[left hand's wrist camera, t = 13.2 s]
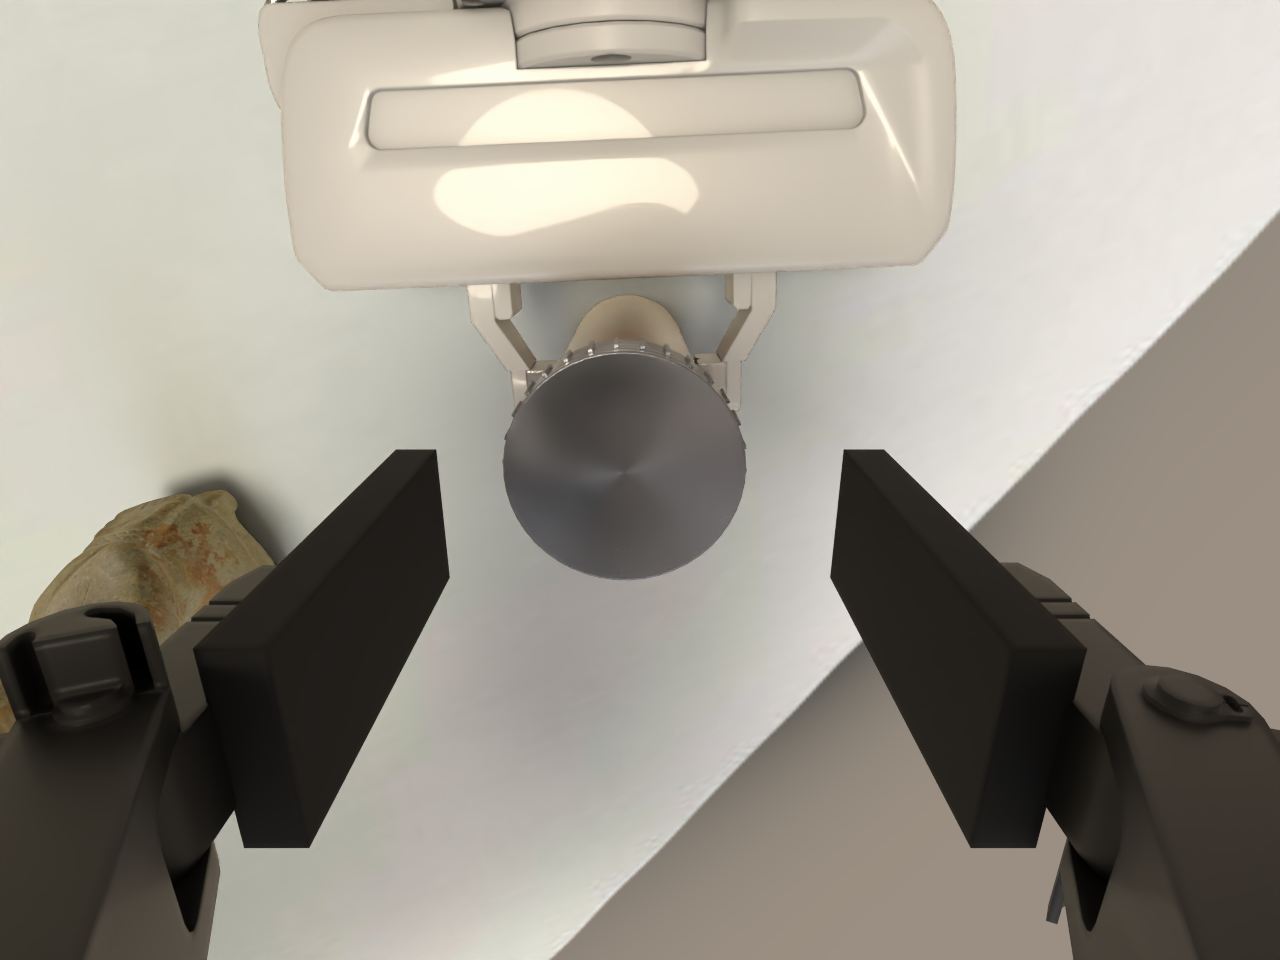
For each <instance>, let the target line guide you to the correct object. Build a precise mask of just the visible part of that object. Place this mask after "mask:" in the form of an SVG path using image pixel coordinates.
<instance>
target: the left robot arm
mask: <svg viewBox="0 0 1280 960" xmlns="http://www.w3.org/2000/svg"><path fill="white" fill-rule="evenodd" d="M449 578H450V576H449V566H448V557H447V547H446V538H445V528H444V519H443V510H442V500H441V491H440V481H439V472H438V462H437V453H436V450H395V451H394V452H393V453H392V454H391V455H390V456H389V457H388V458H387V459H386V460H385V461H384V462H383V463H382V464H381V465H380V466H379V467H378V468H377V469H376V470H375V471H374V472H373V473H372V474H371V475H370V476H369V477H368V478H367V479H366V480H364V481H363V482H362V483H361V484H360V485H359V486H358V487H357V488H356V489H355V490H354V491H353V492H352V493H351V494H350V495H349V496H348V497H347V498H346V499H345V500H344V501H343V502H342V503H341V504H340V505H339V506H338V507H337V508H336V509H335V510H334V511H333V512H332V513H331V514H330V515H329V516H328V517H327V518H326V519H325V520H324V521H323V522H322V523H321V524H319V525H318V526H317V527H316V528H315V529H314V530H313V531H312V532H311V533H310V534H309V535H308V536H307V537H306V538H305V539H304V540H303V541H302V542H301V543H300V544H299V545H298V546H297V547H296V548H295V549H294V550H293V551H292V552H291V553H290V554H289V555H288V556H287V557H286V558H285V559H284V560H283V561H282V562H281V563H280V564H279V565H262V566H260V567H258V568H256V569H254V570H252V571H250V572H248V573H246V574H245V575H243V576H241V577H239V578H237V579H235V580H233V581H231V582H230V583H229V584H228V585H226V586H225V587H224V588H223V589H222V590H221V591H220V592H219V593H218V594H216V595H215V596H214V597H213V598H212V599H211V600H210V601H209V605H204V606H203V607H202V608H201V609H200V610H199V611H198V612H197V613H195V614H194V615H193V616H192V617H191V622H186V623H184V624H183V625H182V626H181V627H180V628H179V629H178V630H177V631H176V632H174V633H173V634H172V635H171V636H170V637H169V638H168V639H167V640H166V641H165V642H163V643H162V644H161V645H160V646H159V642H158V639H157V635H156V632H155V628H154V624H153V621H152V617H151V614H150V610H148V609H146V608H145V607H143V606H141V605H140V604H137V603H129V602H120V601H115V602H104V603H93V604H88V605H83V606H79V607H75V608H70V609H66V610H62V611H59V612H56V613H53V614H51V615H48V616H45V617H43V618H40V619H37V620H34V621H32V622H30V623H28V624H26V625H24V626H22V627H20V628H19V629H17V630H15V631H13V632H11V633H9V634H8V635H6V636H5V637H4V638H2V639H1V640H0V679H1V682H2V685H3V687H4V690H5V693H6V695H7V698H8V701H9V703H10V706H11V708H12V711H13V714H14V716H15V719H16V721H15V723H14V724H13V726H12V728H11V729H10V731H9V732H7V733H2V734H0V960H207V955H208V949H209V942H210V936H211V929H212V922H213V916H214V909H215V903H216V896H217V890H218V883H219V877H220V867H219V860H218V855H217V851H216V847H215V844H214V839H215V838H216V836H217V835H218V833H219V832H220V830H221V829H222V827H223V826H224V824H225V823H226V821H227V820H228V818H229V817H230V815H231V814H232V812H233V811H234V810H235V814H236V818H237V822H238V826H239V830H240V834H241V837H242V841H243V845H244V848H309V847H310V845H311V844H312V842H313V840H314V838H315V836H316V834H317V832H318V830H319V828H320V826H321V824H322V822H323V820H324V819H325V817H326V815H327V813H328V811H329V809H330V807H331V805H332V803H333V801H334V799H335V797H336V795H337V793H338V792H339V790H340V788H341V786H342V784H343V782H344V780H345V778H346V776H347V774H348V772H349V770H350V768H351V767H352V765H353V763H354V761H355V759H356V757H357V755H358V753H359V751H360V749H361V747H362V745H363V743H364V742H365V740H366V738H367V736H368V734H369V732H370V730H371V728H372V726H373V724H374V722H375V720H376V718H377V716H378V715H379V713H380V711H381V709H382V707H383V705H384V703H385V701H386V699H387V697H388V695H389V693H390V691H391V690H392V688H393V686H394V684H395V682H396V680H397V678H398V676H399V674H400V672H401V670H402V668H403V666H404V665H405V663H406V661H407V659H408V657H409V655H410V653H411V651H412V649H413V647H414V645H415V643H416V641H417V639H418V638H419V636H420V634H421V632H422V630H423V628H424V626H425V624H426V622H427V620H428V618H429V616H430V614H431V613H432V611H433V609H434V607H435V605H436V603H437V601H438V599H439V597H440V595H441V593H442V591H443V589H444V588H445V586H446V584H447V582H448V580H449ZM830 578H831V580H832V582H833V584H834V586H835V588H836V589H837V591H838V593H839V595H840V597H841V599H842V601H843V603H844V605H845V607H846V609H847V611H848V613H849V614H850V616H851V618H852V620H853V622H854V624H855V626H856V628H857V630H858V632H859V634H860V636H861V638H862V639H863V641H864V643H865V645H866V647H867V649H868V651H869V653H870V655H871V657H872V659H873V661H874V662H875V664H876V666H877V668H878V670H879V672H880V674H881V676H882V678H883V680H884V682H885V684H886V686H887V688H888V689H889V691H890V693H891V695H892V697H893V699H894V701H895V703H896V705H897V707H898V709H899V711H900V713H901V715H902V716H903V718H904V720H905V722H906V724H907V726H908V728H909V730H910V732H911V734H912V736H913V738H914V740H915V741H916V743H917V745H918V747H919V749H920V751H921V753H922V755H923V757H924V759H925V761H926V763H927V765H928V767H929V768H930V770H931V772H932V774H933V776H934V778H935V780H936V782H937V784H938V786H939V788H940V790H941V792H942V793H943V795H944V797H945V799H946V801H947V803H948V805H949V807H950V809H951V811H952V813H953V815H954V817H955V819H956V820H957V822H958V824H959V826H960V828H961V830H962V832H963V834H964V836H965V838H966V840H967V842H968V844H969V845H970V847H971V848H1036V845H1037V841H1038V837H1039V834H1040V830H1041V826H1042V822H1043V818H1044V814H1045V810H1046V807H1047V809H1048V810H1049V812H1050V813H1051V814H1052V816H1053V817H1054V819H1055V820H1056V822H1057V823H1058V825H1059V826H1060V828H1061V829H1062V831H1063V832H1064V833H1065V835H1066V836H1067V840H1066V844H1065V847H1064V851H1063V855H1062V858H1061V862H1060V865H1059V869H1058V873H1057V876H1056V880H1055V883H1054V887H1053V891H1052V894H1051V898H1050V901H1049V905H1048V912H1047V918H1046V921H1049V922H1052V923H1055V924H1057V923H1058V920H1059V916H1060V913H1061V909H1062V908H1063V907H1064V906H1065V907H1066V914H1067V920H1068V927H1069V933H1070V940H1071V946H1072V953H1073V960H1280V730H1275V729H1270V728H1269V726H1268V724H1267V723H1266V721H1265V719H1264V718H1263V717H1262V716H1261V715H1260V714H1259V713H1258V712H1257V711H1256V710H1255V709H1254V707H1253V706H1252V705H1251V704H1250V703H1249V702H1247V701H1245V700H1244V699H1242V698H1241V697H1239V696H1238V695H1236V694H1235V693H1233V692H1232V691H1230V690H1229V689H1227V688H1225V687H1223V686H1221V685H1218V684H1216V683H1214V682H1212V681H1209V680H1207V679H1205V678H1202V677H1200V676H1198V675H1194V674H1190V673H1187V672H1183V671H1180V670H1176V669H1172V668H1168V667H1158V666H1149V665H1145V664H1144V663H1143V662H1142V661H1141V660H1139V659H1138V658H1137V657H1136V656H1135V655H1134V654H1133V653H1132V652H1131V651H1129V650H1128V649H1127V648H1126V647H1125V646H1124V645H1123V644H1122V643H1121V642H1119V641H1118V640H1117V639H1116V638H1115V637H1114V636H1113V635H1112V634H1110V633H1109V632H1108V631H1107V630H1106V629H1105V628H1104V627H1103V626H1102V625H1100V624H1099V623H1098V622H1097V621H1096V620H1095V619H1090V615H1089V614H1088V613H1087V612H1086V611H1085V610H1084V609H1083V608H1082V607H1080V606H1079V605H1078V604H1077V603H1076V602H1072V601H1071V598H1070V597H1069V596H1068V595H1067V594H1066V593H1065V592H1064V591H1063V590H1061V589H1060V588H1059V587H1058V586H1057V585H1056V584H1055V583H1054V582H1053V581H1051V580H1050V579H1049V578H1047V577H1045V576H1043V575H1041V574H1039V573H1037V572H1035V571H1033V570H1031V569H1029V568H1027V567H1025V566H1023V565H1021V564H1019V563H999V562H998V561H997V560H996V559H995V558H994V557H993V556H992V555H991V554H990V553H989V552H988V551H987V550H986V549H985V548H984V547H983V546H982V545H981V544H980V543H979V542H978V541H977V540H976V539H975V538H974V537H973V536H972V535H971V534H970V533H969V532H968V531H967V530H966V529H965V528H964V527H963V526H962V525H961V524H959V523H958V522H957V521H956V520H955V519H954V518H953V517H952V516H951V515H950V514H949V513H948V512H947V511H946V510H945V509H944V508H943V507H942V506H941V505H940V504H939V503H938V502H937V501H936V500H935V499H934V498H933V497H932V496H931V495H930V494H929V493H928V492H927V491H926V490H925V489H924V488H923V487H922V486H921V485H920V484H919V483H918V482H917V481H916V480H914V479H913V478H912V477H911V476H910V475H909V474H908V473H907V472H906V471H905V470H904V469H903V468H902V467H901V466H900V465H899V464H898V463H897V462H896V461H895V460H894V459H893V458H892V457H891V456H890V455H889V454H888V453H887V452H886V451H885V450H844V453H843V462H842V472H841V481H840V491H839V500H838V510H837V519H836V528H835V538H834V547H833V557H832V566H831V576H830Z"/></svg>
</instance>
